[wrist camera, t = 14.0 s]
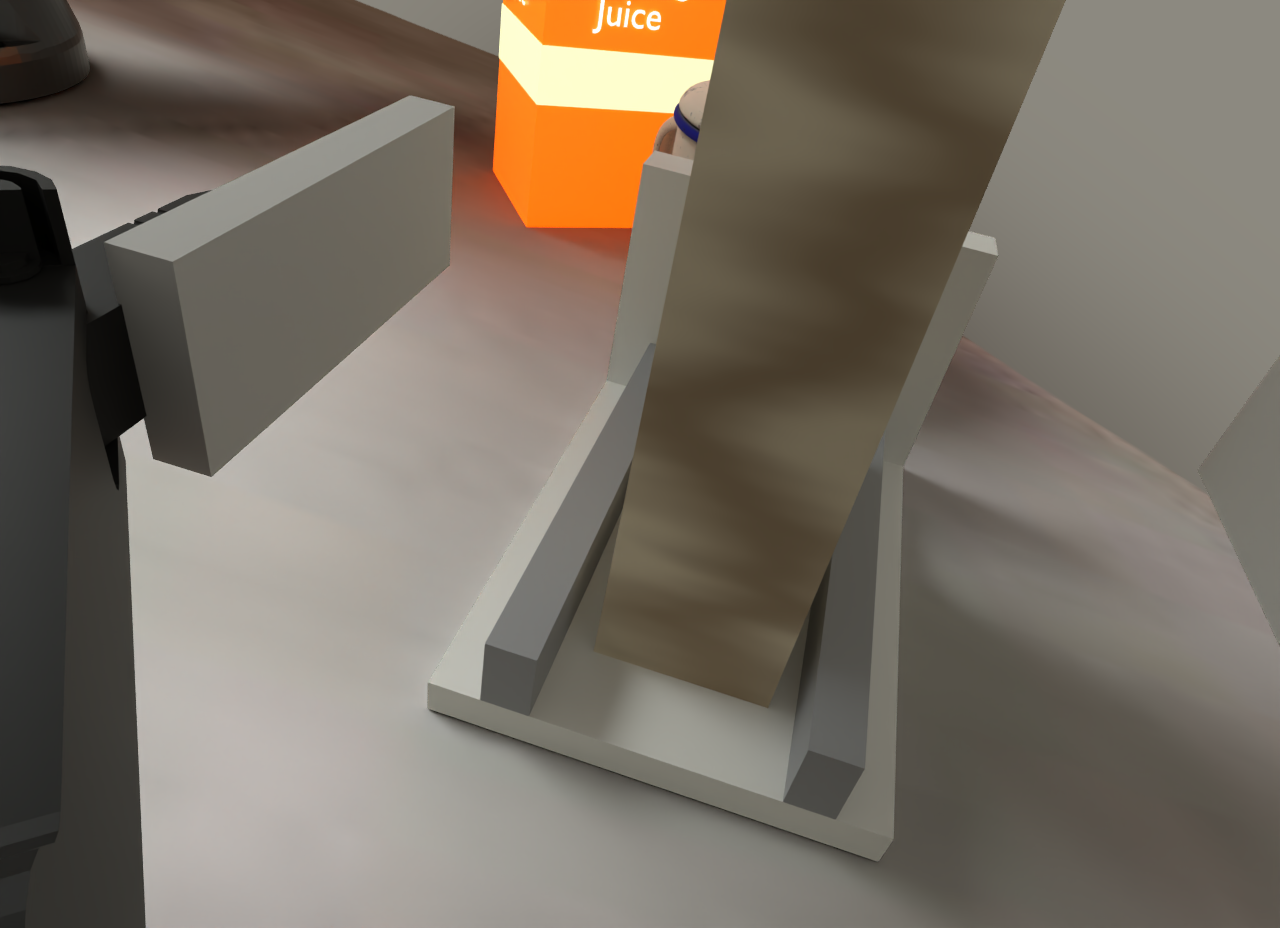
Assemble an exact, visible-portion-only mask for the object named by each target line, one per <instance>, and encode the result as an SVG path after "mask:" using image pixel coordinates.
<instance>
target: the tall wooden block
mask: <svg viewBox="0 0 1280 928" xmlns="http://www.w3.org/2000/svg"><path fill="white" fill-rule="evenodd" d="M1065 1H1066V0H726V4H725V9H724V14H723V19H722V23H721V28H720V33H719V38H718V43H717V48H716V53H715V58H714V63H713V68H712V73H711V77H710V82H709V87H708V92H707V97H706V102H705V107H704V112H703V117H702V122H701V127H700V131H699V136H698V141H697V146H696V151H695V156H694V161H693V166H692V171H691V176H690V181H689V185H688V190H687V195H686V200H685V205H684V210H683V215H682V220H681V225H680V230H679V235H678V239H677V244H676V249H675V254H674V259H673V264H672V269H671V274H670V279H669V284H668V288H667V293H666V298H665V303H664V308H663V313H662V318H661V323H660V328H659V333H658V338H657V342H656V347H655V352H654V357H653V362H652V367H651V372H650V377H649V382H648V387H647V392H646V396H645V401H644V406H643V411H642V416H641V421H640V426H639V431H638V436H637V441H636V446H635V450H634V455H633V460H632V465H631V470H630V475H629V480H628V485H627V490H626V495H625V500H624V504H623V509H622V514H621V519H620V524H619V529H618V534H617V539H616V544H615V549H614V554H613V558H612V563H611V568H610V573H609V578H608V583H607V588H606V593H605V598H604V603H603V608H602V612H601V617H600V622H599V627H598V632H597V637H596V642H595V647H594V652H597V653H600V654H603V655H606V656H609V657H612V658H615V659H618V660H621V661H625V662H628V663H631V664H634V665H637V666H640V667H643V668H646V669H649V670H652V671H655V672H658V673H661V674H665V675H668V676H671V677H674V678H677V679H680V680H683V681H686V682H689V683H692V684H695V685H698V686H701V687H704V688H708V689H711V690H714V691H717V692H720V693H723V694H726V695H729V696H732V697H735V698H738V699H741V700H744V701H747V702H751V703H754V704H757V705H760V706H763V707H766V708H768V707H769V704H770V702H771V699H772V697H773V695H774V692H775V690H776V688H777V685H778V683H779V680H780V678H781V676H782V673H783V671H784V669H785V666H786V664H787V661H788V659H789V657H790V654H791V652H792V649H793V647H794V645H795V642H796V640H797V638H798V635H799V633H800V630H801V628H802V626H803V623H804V621H805V619H806V616H807V614H808V611H809V609H810V607H811V604H812V602H813V600H814V597H815V595H816V592H817V590H818V588H819V585H820V583H821V581H822V578H823V576H824V573H825V571H826V569H827V566H828V564H829V562H830V559H831V557H832V554H833V552H834V550H835V547H836V545H837V543H838V540H839V538H840V535H841V533H842V531H843V528H844V526H845V524H846V521H847V519H848V516H849V514H850V512H851V509H852V507H853V505H854V502H855V500H856V497H857V495H858V493H859V490H860V488H861V486H862V483H863V481H864V478H865V476H866V474H867V471H868V469H869V467H870V464H871V462H872V459H873V457H874V455H875V452H876V450H877V448H878V445H879V443H880V440H881V438H882V436H883V433H884V431H885V429H886V426H887V424H888V421H889V419H890V417H891V414H892V412H893V410H894V407H895V405H896V402H897V400H898V398H899V395H900V393H901V391H902V388H903V386H904V383H905V381H906V379H907V376H908V374H909V372H910V369H911V367H912V364H913V362H914V360H915V357H916V355H917V353H918V350H919V348H920V345H921V343H922V341H923V338H924V336H925V334H926V331H927V329H928V326H929V324H930V322H931V319H932V317H933V315H934V312H935V310H936V307H937V305H938V303H939V300H940V298H941V295H942V293H943V291H944V288H945V286H946V284H947V281H948V279H949V276H950V274H951V272H952V269H953V267H954V265H955V262H956V260H957V257H958V255H959V253H960V250H961V248H962V246H963V243H964V241H965V238H966V236H967V234H968V231H969V229H970V227H971V224H972V222H973V219H974V217H975V215H976V212H977V210H978V208H979V205H980V203H981V200H982V198H983V196H984V193H985V191H986V189H987V186H988V183H989V181H990V179H991V177H992V174H993V172H994V170H995V167H996V165H997V162H998V160H999V157H1000V155H1001V153H1002V151H1003V148H1004V146H1005V143H1006V141H1007V139H1008V136H1009V134H1010V132H1011V129H1012V126H1013V124H1014V122H1015V120H1016V117H1017V115H1018V112H1019V110H1020V108H1021V105H1022V103H1023V101H1024V98H1025V96H1026V94H1027V91H1028V89H1029V86H1030V84H1031V82H1032V79H1033V77H1034V75H1035V72H1036V69H1037V67H1038V65H1039V63H1040V60H1041V58H1042V56H1043V53H1044V51H1045V48H1046V46H1047V44H1048V41H1049V39H1050V37H1051V34H1052V32H1053V29H1054V27H1055V25H1056V22H1057V20H1058V18H1059V15H1060V13H1061V10H1062V8H1063V6H1064V3H1065Z"/></svg>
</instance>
